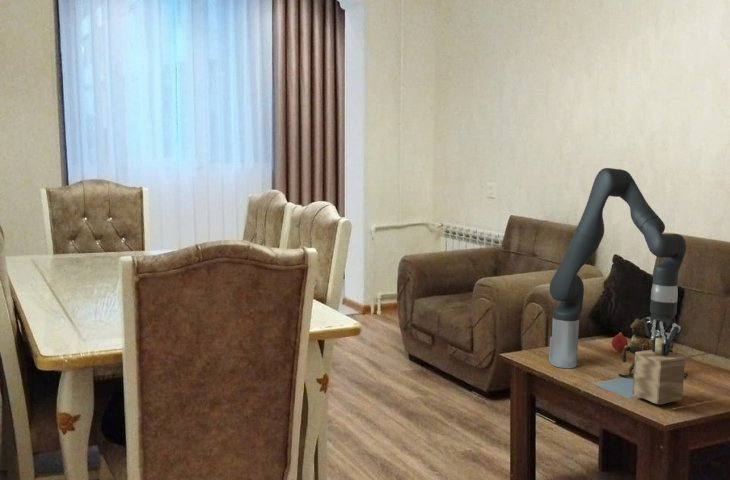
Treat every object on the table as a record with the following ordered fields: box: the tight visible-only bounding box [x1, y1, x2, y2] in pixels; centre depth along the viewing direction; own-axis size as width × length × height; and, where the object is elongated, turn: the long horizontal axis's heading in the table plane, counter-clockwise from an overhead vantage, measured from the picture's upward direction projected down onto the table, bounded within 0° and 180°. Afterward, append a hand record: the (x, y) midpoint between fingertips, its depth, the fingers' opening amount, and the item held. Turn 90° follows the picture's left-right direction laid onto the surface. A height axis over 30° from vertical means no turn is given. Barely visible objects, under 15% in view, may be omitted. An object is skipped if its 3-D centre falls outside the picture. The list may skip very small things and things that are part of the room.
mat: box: [592, 377, 638, 399], centre depth 245 cm, size 16×16×1 cm
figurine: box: [618, 317, 689, 379], centre depth 257 cm, size 13×25×20 cm, turn 96°
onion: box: [611, 331, 629, 353], centre depth 287 cm, size 6×6×8 cm
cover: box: [633, 336, 686, 405], centre depth 231 cm, size 10×10×19 cm
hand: (660, 353), depth 230 cm, fingers closed on cover, 3 cm apart
